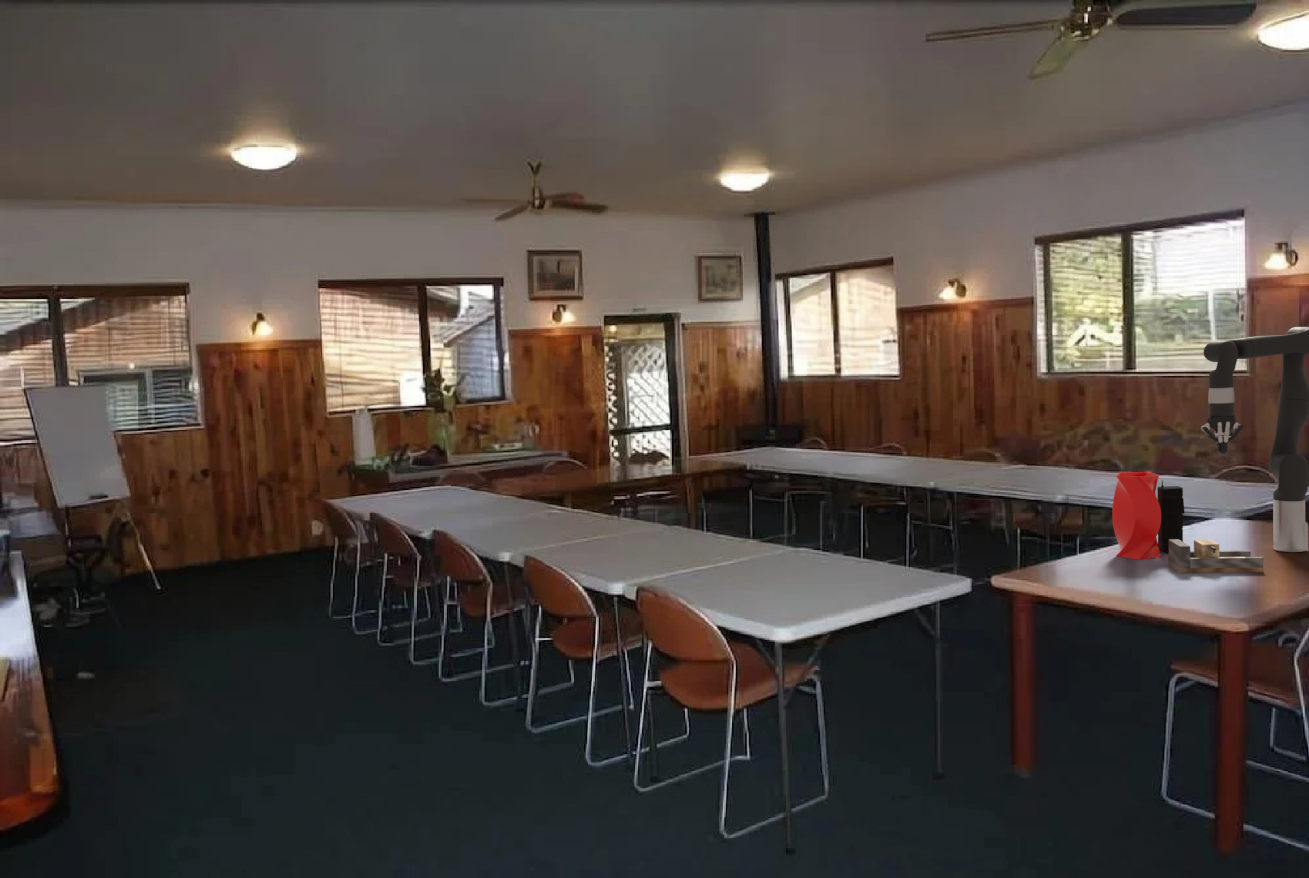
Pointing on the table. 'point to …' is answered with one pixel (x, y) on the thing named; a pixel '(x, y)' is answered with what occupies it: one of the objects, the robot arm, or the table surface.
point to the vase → (1136, 515)
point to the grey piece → (1211, 560)
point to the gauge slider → (1205, 548)
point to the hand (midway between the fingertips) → (1222, 453)
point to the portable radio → (1170, 515)
